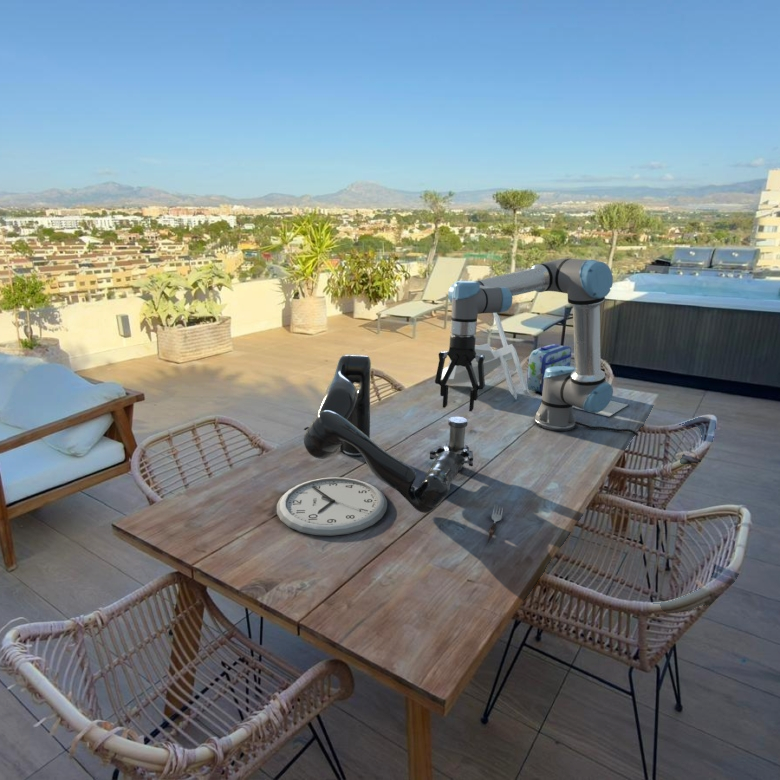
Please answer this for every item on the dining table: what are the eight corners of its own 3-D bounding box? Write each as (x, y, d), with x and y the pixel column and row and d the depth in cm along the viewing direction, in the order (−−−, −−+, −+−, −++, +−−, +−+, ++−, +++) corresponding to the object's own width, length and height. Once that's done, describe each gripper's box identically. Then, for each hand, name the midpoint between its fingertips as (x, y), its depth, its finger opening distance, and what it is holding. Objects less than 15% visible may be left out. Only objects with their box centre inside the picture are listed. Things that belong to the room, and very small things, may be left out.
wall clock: (392, 527, 129) (268, 531, 127) (391, 533, 130) (269, 537, 127) (383, 473, 158) (282, 475, 155) (383, 478, 158) (282, 480, 156)
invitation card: (608, 416, 214) (573, 407, 224) (608, 416, 214) (573, 408, 224) (628, 404, 229) (594, 396, 238) (628, 405, 229) (594, 397, 238)
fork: (482, 542, 127) (483, 535, 126) (493, 511, 141) (494, 504, 140) (493, 545, 126) (494, 538, 125) (503, 513, 140) (503, 506, 140)
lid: (469, 428, 160) (469, 422, 159) (450, 428, 159) (450, 423, 159) (464, 421, 165) (465, 416, 165) (446, 421, 165) (447, 416, 164)
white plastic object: (461, 429, 252) (437, 405, 227) (444, 352, 274) (420, 323, 250) (535, 404, 240) (518, 377, 215) (510, 326, 262) (492, 293, 237)
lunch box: (543, 396, 238) (548, 352, 231) (522, 391, 245) (526, 347, 239) (570, 385, 255) (575, 343, 249) (550, 381, 262) (555, 340, 256)
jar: (464, 470, 165) (467, 423, 160) (449, 471, 164) (452, 423, 159) (460, 464, 169) (463, 418, 164) (446, 464, 169) (449, 418, 164)
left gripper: (421, 475, 155) (436, 453, 171) (468, 484, 151) (479, 460, 166) (421, 452, 153) (437, 432, 168) (470, 460, 148) (481, 438, 164)
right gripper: (499, 335, 154) (493, 409, 160) (433, 329, 160) (429, 400, 167) (495, 340, 147) (489, 416, 154) (426, 333, 154) (422, 407, 160)
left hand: (458, 446), depth 167 cm, fingers closed on jar, 4 cm apart
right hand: (458, 408), depth 160 cm, fingers open, 8 cm apart
